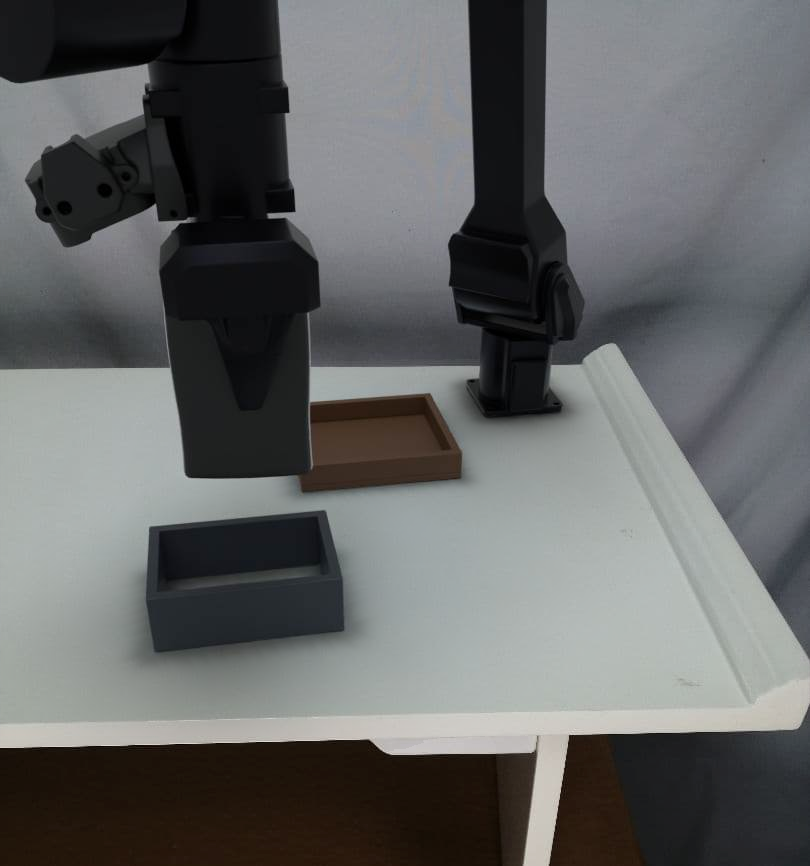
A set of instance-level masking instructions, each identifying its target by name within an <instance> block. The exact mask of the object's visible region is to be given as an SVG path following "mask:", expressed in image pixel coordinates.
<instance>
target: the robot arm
mask: <svg viewBox="0 0 810 866" xmlns="http://www.w3.org/2000/svg"><path fill="white" fill-rule="evenodd" d="M467 16H468V17H467V18H468V21H467V22H468V45H469V47H468V49H469V76H470V77H469V79H470V102H471V103H470V104H471V105H470V107H471V108H470V109H471V130H472V131H471V138H472V141H471V142H472V169H473V205H472V207H471V209H470V210H469V212H468V214H467V216H466V218H465V219H464V221H463V223H462V224H461V226H460V228H459V230H458V231H456V232H454V233H452V234H451V236H450V238H449V241H448V243H447V249H448V255H449V263H450V264H449V265H450V267H449V279H448V287H450V288H451V290H452V297H453V301H454V308H455V313H456V319H457V323H458V324H459V325H463V326H465V325H469V326H473V327H477V328H481V335H480V355H479V356H480V357H479V373H478V378H468V379H466V381H465V387H466V388H467V390H468V392H469V393H470V395H471V396H472V398H473V400H474V401H475V403H476V405H477V407H478V408H479V410H480V411H481V413H482V415H484V416H485V417H499V416H513V415H525V414H539V413H550V412H551V413H552V412H560V411H562V410H563V405H564V404H563V402H562V401H561V400H560V398H558V396H557V395H556V393H555V392H554V391H553V389H551V387H550V382H551V371H552V361H553V353H554V346H556V345H557V344H559V343H560V342H567V341H575V340H576V339H577V337H578V330H579V328H580V326H581V322H582V320H583V319H584V309H585V306H586V301H585V298H584V296H583V293H582V291H581V290H580V287H579V284H578V282H577V280H576V278H575V276H574V274H573V271H572V269H571V267H570V266H569V263H568V246H567V231H566V229H565V227H564V226H563V223H562V222H561V220H560V218H559V217H558V215H557V213H556V212H555V210H554V208H553V206H552V205H551V203H550V202H549V199H548V198H547V197H546V191H545V170H546V169H545V167H546V164H545V161H546V159H545V158H546V152H545V151H546V106H547V105H546V103H547V101H546V97H547V95H546V94H547V36H548V32H547V31H548V0H467ZM280 24H281V23H280V9H279V0H0V78H2V79H3V80H5V81H8V82H9V83H13V84H27V83H34V82H41V81H47V80H48V81H49V80H54V79H61V78H67V77H68V78H69V77H75V76H80V75H81V76H82V75H87V74H88V75H89V74H95V73H100V72H101V73H102V72H107V71H114V70H121V69H122V70H123V69H128V68H135V67H140V66H144V65H147V71H148V80H149V82H145V83H144V94H142V97H141V98H142V99H141V100H142V109H143V110H142V111H143V114H140V115H138V116H136V117H133V118H130V119H128V120H126V121H122V122H120V123H116V124H114V125H112V126H110V127H108V128H105V129H103V130H100V131H98V132H96V133H94V134H91V135H89V136H86V137H82V135H80V134H78V133H75V134H73V135H71V136H70V138H69V139H68V140H67V141H65V142H64V143H62V144H60V145H57V146H55V147H54V146H52V145H48V146H45V147H44V149H43V151H42V153H41V154H40V158H39V159H38V160H36V161H35V162H34V163H33V164H32V165H31V167H30V169H29V171H28V173H27V174H26V176H25V178H24V182H25V184H26V185H27V188H28V190H29V191H30V193H31V194H32V196H33V198H34V200H35V207H34V212H35V215H36V217H37V218H38V219H39V220H40V221H41V222H43V223H45V224H49V225H50V227H51V228H52V230H53V232H54V234H55V235H56V237H57V239H58V240H59V242H60V244H61V245H62V247H63V248H65V249H69V248H74V247H77V246H79V245H82V244H85V243H86V242H89V241H90V240H91V239H92V236H93V235H94V234H95V233H97V232H100V231H102V230H104V229H107V228H109V227H111V226H113V225H116V224H118V223H120V222H123V221H125V220H127V219H130V218H132V217H134V216H137V215H139V214H141V213H143V212H146V211H148V210H149V209H151V208H152V207H153V206H156V215H157V221H158V222H159V223H160V222H179V223H178V225H177V226H176V227H175V228H174V229H171V231H170V234H169V236H167V238H166V239H165V240H164V241H163V242H162V244H161V245H160V246H159V260H158V261H159V264H158V274H159V282H160V289H161V295H162V296H161V297H162V304H163V303H164V310H165V317H166V318H170V319H174V320H177V321H191V320H205V321H206V322H207V323H208V324H209V326H210V328H211V331H212V334H213V337H214V339H215V342H216V345H217V348H218V350H219V353H220V356H221V359H222V362H223V365H224V368H225V371H226V374H227V376H228V379H229V382H230V385H231V388H232V391H233V394H234V397H235V400H236V402H237V405H238V408H239V409H240V410H242V411H247V410H258V409H260V408H261V407H262V404H263V402H264V399H265V396H266V393H267V391H268V388H269V385H270V383H271V380H272V377H273V375H274V372H275V369H276V367H277V364H278V361H279V359H280V356H281V353H282V351H283V349H284V346H285V343H286V341H287V338H288V336H289V333H290V331H291V329H292V326H293V324H294V321H295V319H296V317H297V314H298V313H309V314H310V313H311V312H313V311H316V310H317V309H320V308H321V307H322V305H321V304H322V303H321V286H320V285H321V283H320V267H319V266H320V265H319V259H318V258H317V255H316V253H315V250H314V247H313V245H312V242H311V240H310V238H309V237H308V236H307V235H306V234H305V233H303V231H302V230H300V229H299V228H298V227H297V226H296V225H295V224H294V223H293V222H292V221H291V220H290V219H288V218H287V217H273V218H271V217H269V214H287V213H288V214H289V213H296V212H297V211H296V193H295V188H294V185H293V182H292V180H291V178H290V168H289V167H290V166H289V165H290V164H289V150H288V135H287V119H286V114H290V112H291V110H290V96H289V95H290V92H289V86H288V84H287V83H286V82H285V80H284V72H283V71H284V70H283V54H282V43H281V42H282V41H281V40H282V39H281V27H280ZM181 221H186V222H181ZM164 310H163V311H164Z"/></svg>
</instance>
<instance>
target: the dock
mask: <svg viewBox="0 0 810 866" xmlns="http://www.w3.org/2000/svg"><path fill="white" fill-rule="evenodd" d="M147 541H148V544H147V562H146V563H147V565H146V584H145V605H146V611H147V617H148V623H149V628H150V635H151V639H152V645H153V651H154V653H158V652H168V651H176V650H177V651H178V650H185V649H193V648H201V647H210V646H211V647H212V646H221V645H227V644H237V643H244V642H252V641H253V642H255V641H263V640H270V639H279V638H287V637H297V636H304V635H314V634H321V633H322V634H323V633H332V632H339V631H345V607H344V606H345V603H344V601H345V600H344V578H343V574H342V571H341V566H340V562H339V558H338V554H337V551H336V546H335V541H334V537H333V534H332V530H331V526H330V522H329V518H328V514H327V510H326V509H322V510H310V511H300V512H299V511H298V512H290V513H280V514H269V515H259V516H247V517H237V518H226V519H216V520H205V521H204V520H203V521H195V522H193V521H192V522H184V523H173V524H163V525H162V524H161V525H152V526H149V527H148V540H147ZM316 565H319V569H320V574H315V575H307V576H296V577H288V578H287V577H286V578H279V579H272V580H271V579H268V580H261V581H250V582H242V583H232V584H231V583H230V584H222V585H212V586H204V587H194V588H193V587H192V588H185V589H174V590H168V581H171V580H172V581H173V580H182V579H191V578H202V577H211V576H220V575H230V574H239V573H249V572H258V571H268V570H279V569H288V568H297V567H307V566H316Z"/></svg>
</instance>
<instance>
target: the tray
mask: <svg viewBox="0 0 810 866" xmlns="http://www.w3.org/2000/svg"><path fill="white" fill-rule="evenodd" d="M310 433H311V449H312V460H313V467H312V469H311V471H310V472H309V473H308V474H304V475H298V479H299V484H300V489H301V493H307V492H319V491H329V490H330V491H331V490H340V489H350V488H351V489H353V488H364V487H373V486H383V485H386V486H387V485H396V484H405V483H416V482H417V483H418V482H428V481H430V482H431V481H440V480H450V479H461V478H462V466H463V465H462V464H463V451H462V450H461V448H460V447H459V445H458V443H457V441H456V439H455V437H454V435H453V433H452V431H451V430H450V427H449V426H448V424H447V421H446V420H445V418H444V417H443V414H442V412H441V411H440V409H439V407H438V405H437V403H436V401H435V399H434V398H433V396H432V394H431V393H430V392H425V393H412V394H401V395H400V394H397V395H386V396H373V397H371V396H370V397H359V398H358V397H357V398H346V399H345V398H344V399H333V400H330V399H329V400H318V401H317V400H316V401H310Z"/></svg>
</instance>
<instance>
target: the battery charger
mask: <svg viewBox="0 0 810 866" xmlns="http://www.w3.org/2000/svg"><path fill="white" fill-rule="evenodd" d="M162 307H163V321H164V332H165V341H166V347H167V356H168V363H169V364H168V365H169V369H170V376H171V382H172V383H171V384H172V387H173V388H172V389H173V394H174V395H173V396H174V400H175V405H176V410H177V416H178V417H177V418H178V426H179V434H180V442H181V455H182V469H183V473H184V475H185V477H187V478H188V479H202V480H203V479H208V480H227V479H228V480H231V479H237V480H238V479H261V478H262V479H263V478H278V477H279V478H281V477H292V476H299V475H304V474H308V473H309V472H310V471H311V469H312V467H313V460H312V449H311V433H310V402H311V382H312V381H311V380H312V379H311V378H312V377H311V371H312V368H311V365H312V364H311V357H312V356H311V355H312V352H311V351H312V350H311V326H310V324H311V323H310V312H309V313H298V314H297V317H296V319H295V321H294V324H293V326H292V329H291V331H290V333H289V336H288V338H287V341H286V343H285V346H284V349H283V351H282V353H281V356H280V359H279V361H278V364H277V367H276V369H275V372H274V375H273V377H272V380H271V383H270V385H269V388H268V391H267V393H266V396H265V399H264V402H263V404H262V407H261V408H260V409H258V410H247V411H242V410H240V409H239V408H238V405H237V402H236V400H235V397H234V394H233V391H232V388H231V385H230V382H229V379H228V376H227V374H226V371H225V368H224V365H223V362H222V359H221V356H220V353H219V350H218V348H217V345H216V342H215V339H214V337H213V334H212V331H211V328H210V326H209V324H208V323H207V322H206V321H205V320H191V321H177V320H174V319H170V318H166V317H165V310H164V303H163V302H162Z"/></svg>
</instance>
